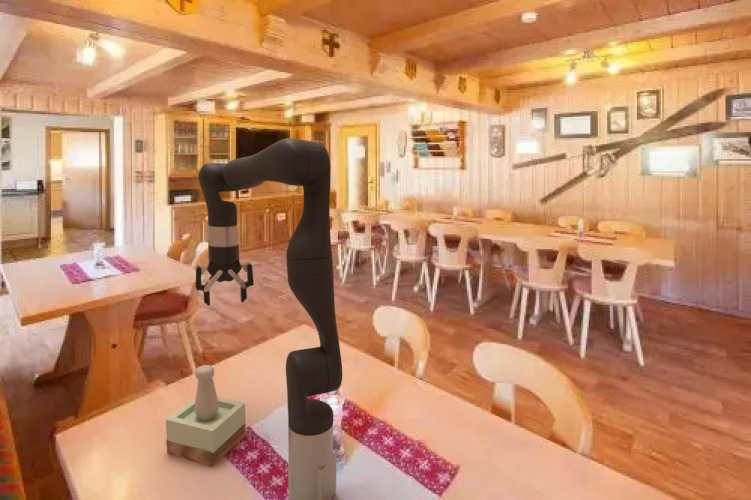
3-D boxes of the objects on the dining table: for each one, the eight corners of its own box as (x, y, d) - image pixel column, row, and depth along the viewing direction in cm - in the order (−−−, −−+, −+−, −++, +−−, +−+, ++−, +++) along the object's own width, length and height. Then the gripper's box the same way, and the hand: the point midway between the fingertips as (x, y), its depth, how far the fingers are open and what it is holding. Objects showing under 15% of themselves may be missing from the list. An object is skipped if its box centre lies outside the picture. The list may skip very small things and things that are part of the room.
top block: (245, 422, 119) (245, 403, 118) (213, 452, 107) (212, 431, 105) (202, 412, 123) (202, 393, 121) (167, 440, 110) (165, 419, 109)
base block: (245, 438, 119) (245, 424, 118) (210, 469, 107) (210, 453, 106) (205, 426, 124) (204, 412, 123) (167, 454, 112) (166, 439, 111)
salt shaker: (211, 424, 110) (208, 374, 108) (189, 421, 111) (186, 371, 109) (223, 411, 116) (221, 363, 113) (203, 408, 117) (200, 361, 114)
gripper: (250, 238, 125) (251, 296, 128) (193, 241, 119) (195, 301, 122) (254, 244, 118) (255, 305, 121) (194, 246, 112) (197, 310, 116)
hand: (225, 303), depth 122 cm, fingers open, 8 cm apart
